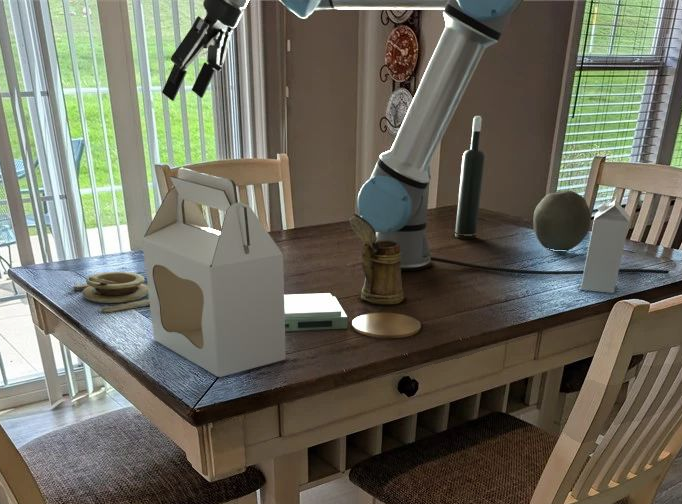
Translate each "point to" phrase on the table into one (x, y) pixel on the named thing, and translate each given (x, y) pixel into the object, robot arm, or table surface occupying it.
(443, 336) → the table surface
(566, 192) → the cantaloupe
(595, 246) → the milk carton
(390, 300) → the wooden mug
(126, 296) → the tableware set
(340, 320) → the kitchen scale
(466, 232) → the wine bottle
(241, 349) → the gable box
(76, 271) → the table surface
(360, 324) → the golden round disc
